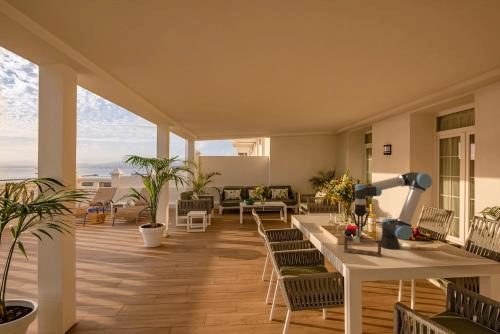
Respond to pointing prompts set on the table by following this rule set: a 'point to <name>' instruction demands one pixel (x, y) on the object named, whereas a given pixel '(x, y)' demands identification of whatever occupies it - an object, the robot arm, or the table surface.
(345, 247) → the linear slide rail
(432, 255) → the table surface
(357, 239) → the cream t-shaped block
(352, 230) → the red-and-black block model
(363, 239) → the rod
